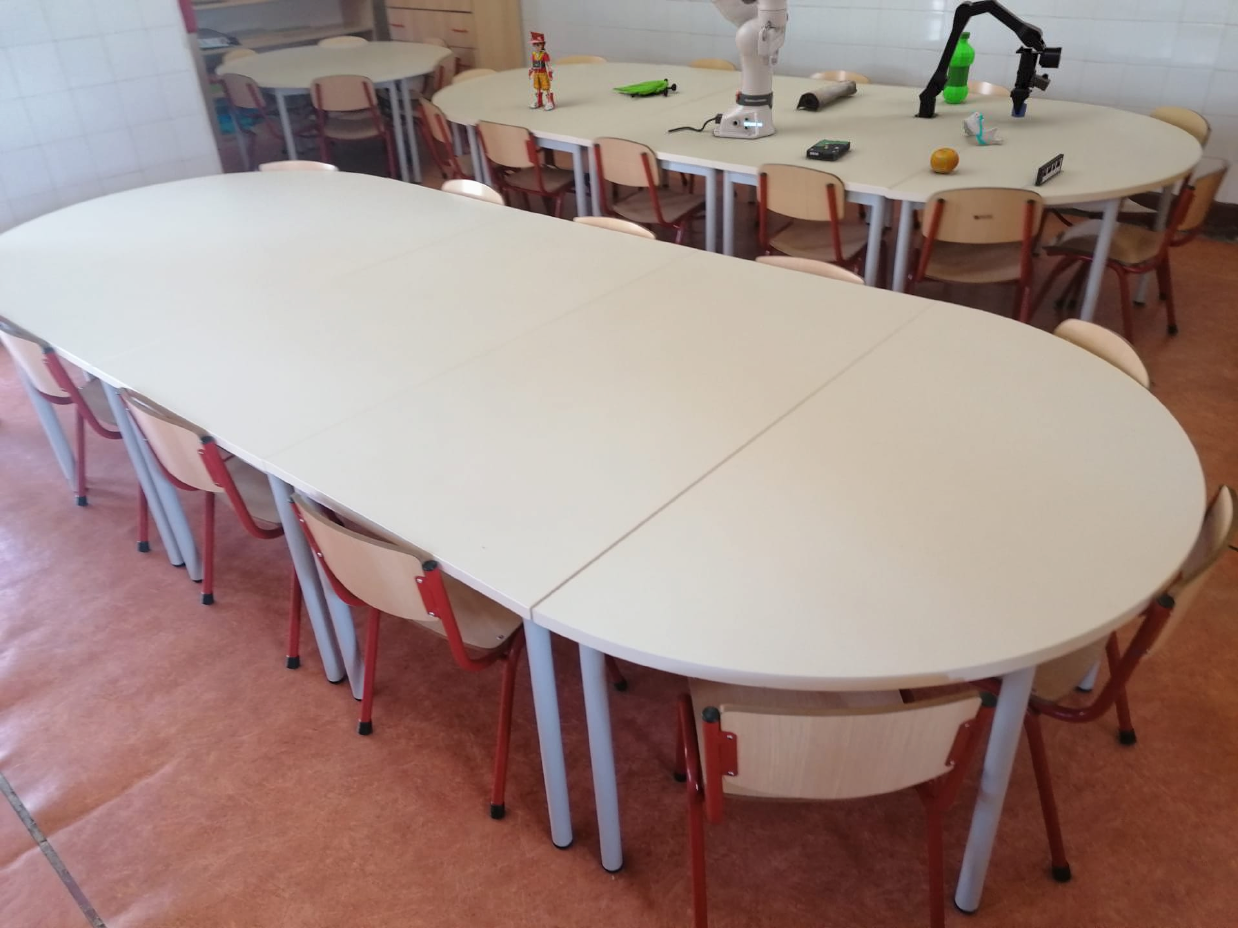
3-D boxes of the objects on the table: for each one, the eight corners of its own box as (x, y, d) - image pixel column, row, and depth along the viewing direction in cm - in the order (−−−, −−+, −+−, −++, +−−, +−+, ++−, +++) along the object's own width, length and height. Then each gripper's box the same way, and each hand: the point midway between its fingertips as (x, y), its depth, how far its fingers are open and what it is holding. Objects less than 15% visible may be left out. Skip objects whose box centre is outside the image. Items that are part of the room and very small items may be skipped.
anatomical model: (956, 110, 312) (985, 102, 311) (957, 139, 318) (985, 132, 317) (974, 121, 300) (1004, 113, 299) (974, 151, 306) (1003, 144, 305)
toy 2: (686, 85, 398) (631, 84, 414) (685, 72, 395) (629, 72, 411) (651, 104, 381) (596, 103, 397) (650, 92, 378) (594, 91, 394)
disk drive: (834, 162, 299) (850, 149, 309) (835, 153, 297) (851, 141, 307) (805, 158, 304) (821, 146, 314) (806, 150, 302) (822, 138, 312)
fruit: (924, 163, 281) (941, 140, 278) (925, 165, 289) (941, 143, 286) (946, 178, 280) (963, 155, 277) (947, 180, 288) (963, 158, 285)
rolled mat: (832, 85, 375) (848, 69, 367) (844, 103, 376) (861, 88, 367) (792, 103, 358) (809, 87, 350) (805, 122, 358) (822, 107, 350)
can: (1023, 114, 328) (1026, 102, 326) (1025, 117, 324) (1028, 105, 322) (1010, 114, 329) (1012, 102, 326) (1012, 117, 325) (1014, 106, 323)
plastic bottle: (973, 101, 354) (984, 32, 339) (955, 106, 349) (966, 36, 335) (952, 97, 361) (962, 29, 346) (934, 102, 356) (944, 33, 342)
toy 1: (525, 109, 381) (517, 32, 364) (534, 104, 388) (527, 28, 371) (550, 110, 377) (543, 32, 360) (559, 105, 384) (553, 28, 367)
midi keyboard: (1039, 185, 269) (1043, 168, 266) (1035, 184, 270) (1038, 168, 267) (1060, 170, 279) (1064, 154, 277) (1056, 169, 280) (1060, 153, 277)
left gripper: (774, 25, 266) (772, 75, 273) (789, 13, 281) (787, 61, 289) (753, 25, 268) (752, 74, 275) (770, 13, 283) (768, 60, 291)
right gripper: (1048, 74, 307) (1038, 121, 316) (1054, 63, 321) (1044, 108, 329) (1014, 72, 312) (1005, 119, 320) (1021, 61, 325) (1012, 106, 334)
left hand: (770, 67), depth 282 cm, fingers open, 8 cm apart
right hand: (1018, 113), depth 326 cm, fingers closed on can, 5 cm apart
